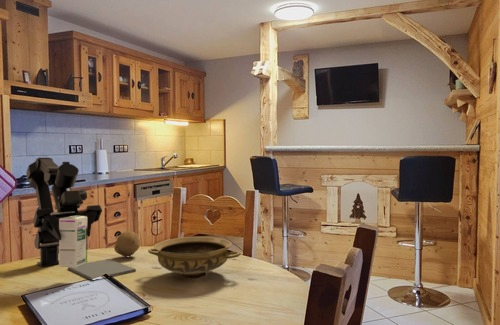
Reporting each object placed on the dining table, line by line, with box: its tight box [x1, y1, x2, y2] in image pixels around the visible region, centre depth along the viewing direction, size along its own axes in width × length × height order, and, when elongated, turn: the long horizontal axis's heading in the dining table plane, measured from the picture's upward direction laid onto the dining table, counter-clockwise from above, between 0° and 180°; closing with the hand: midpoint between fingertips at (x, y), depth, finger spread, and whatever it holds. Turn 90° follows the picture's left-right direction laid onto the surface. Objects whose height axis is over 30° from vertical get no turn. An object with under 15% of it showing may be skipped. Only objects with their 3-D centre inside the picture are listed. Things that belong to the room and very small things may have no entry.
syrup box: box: [58, 216, 88, 268], centre depth 114 cm, size 6×6×14 cm
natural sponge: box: [114, 230, 141, 257], centre depth 143 cm, size 9×9×10 cm
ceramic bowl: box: [147, 236, 241, 280], centre depth 118 cm, size 30×24×10 cm
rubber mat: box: [67, 258, 137, 280], centre depth 126 cm, size 20×14×1 cm
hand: (75, 237), depth 113 cm, fingers closed on syrup box, 8 cm apart
